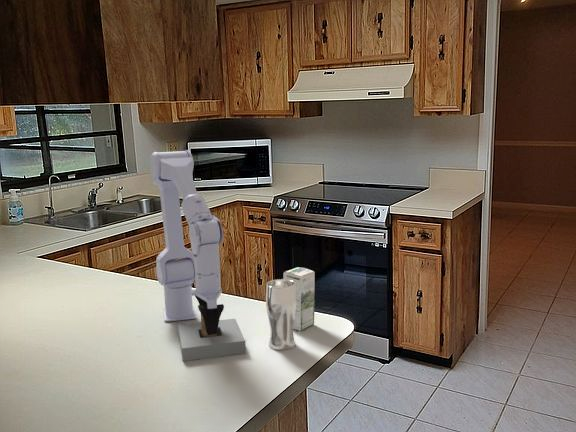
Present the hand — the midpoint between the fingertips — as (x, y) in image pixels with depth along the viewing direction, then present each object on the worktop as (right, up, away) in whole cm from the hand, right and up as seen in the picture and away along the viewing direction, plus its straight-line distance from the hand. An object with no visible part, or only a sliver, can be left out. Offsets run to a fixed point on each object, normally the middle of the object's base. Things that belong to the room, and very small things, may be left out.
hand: (210, 327), depth 128 cm
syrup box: (+21, -2, +11) cm, 24 cm away
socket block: (0, -4, +1) cm, 4 cm away
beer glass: (+17, -4, 0) cm, 17 cm away
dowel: (0, -4, +1) cm, 4 cm away
